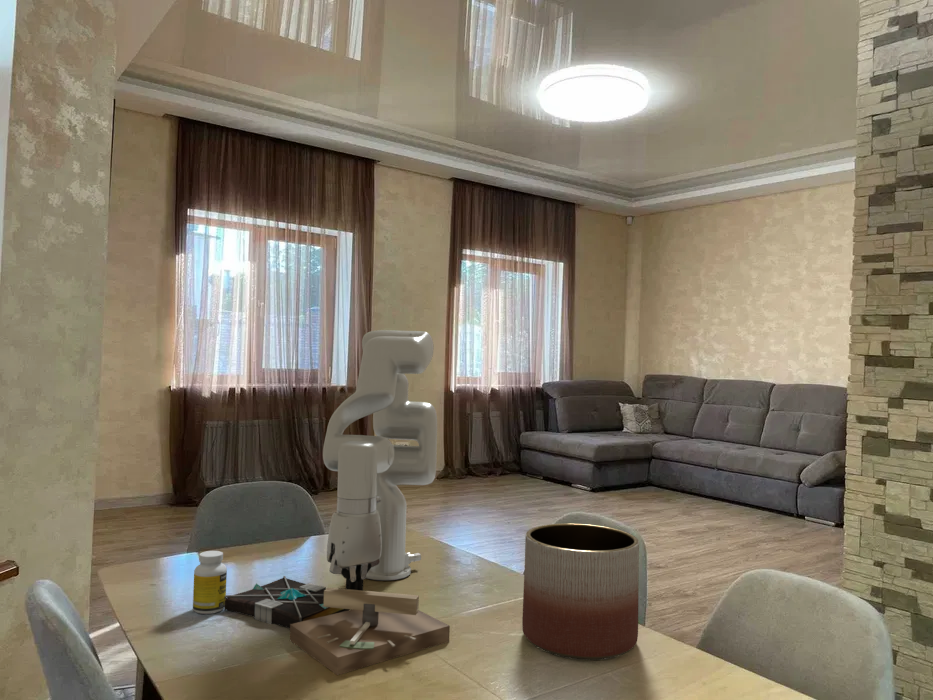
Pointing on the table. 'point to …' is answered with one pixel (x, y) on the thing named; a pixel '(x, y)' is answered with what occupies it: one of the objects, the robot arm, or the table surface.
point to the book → (281, 602)
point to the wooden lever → (370, 605)
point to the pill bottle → (209, 583)
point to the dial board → (366, 638)
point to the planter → (581, 590)
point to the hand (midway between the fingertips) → (354, 599)
